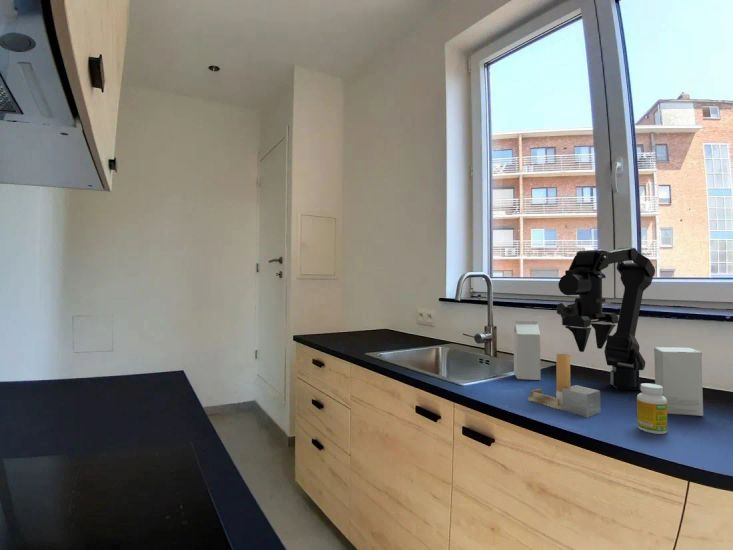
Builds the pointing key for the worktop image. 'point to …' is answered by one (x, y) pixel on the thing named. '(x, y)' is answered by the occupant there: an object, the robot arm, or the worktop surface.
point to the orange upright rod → (562, 374)
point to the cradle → (544, 399)
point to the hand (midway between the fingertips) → (590, 350)
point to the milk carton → (527, 350)
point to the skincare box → (680, 379)
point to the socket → (581, 400)
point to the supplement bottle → (652, 409)
